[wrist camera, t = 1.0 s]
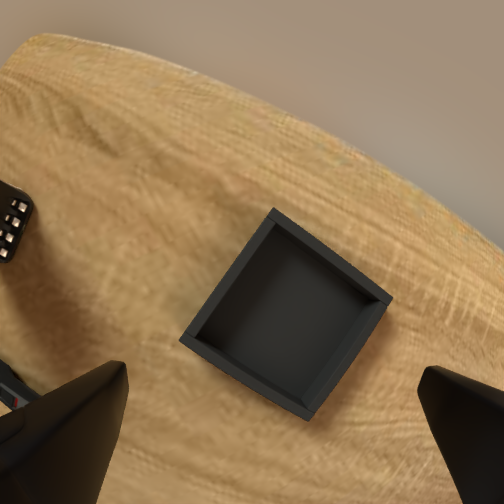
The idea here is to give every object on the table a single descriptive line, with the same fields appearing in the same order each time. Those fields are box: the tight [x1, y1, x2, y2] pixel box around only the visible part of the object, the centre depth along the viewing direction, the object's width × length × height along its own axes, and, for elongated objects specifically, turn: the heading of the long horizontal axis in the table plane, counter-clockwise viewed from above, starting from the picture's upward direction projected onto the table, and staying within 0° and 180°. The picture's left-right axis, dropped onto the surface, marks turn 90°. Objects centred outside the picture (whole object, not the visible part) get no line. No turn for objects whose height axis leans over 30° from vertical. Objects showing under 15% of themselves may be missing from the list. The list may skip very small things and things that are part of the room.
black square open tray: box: [179, 207, 393, 422], centre depth 23 cm, size 11×11×3 cm
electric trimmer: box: [0, 360, 41, 411], centre depth 20 cm, size 4×16×3 cm, turn 64°
